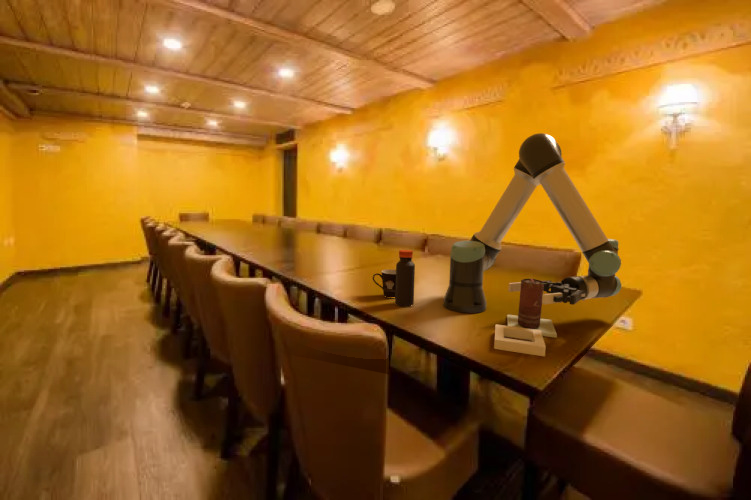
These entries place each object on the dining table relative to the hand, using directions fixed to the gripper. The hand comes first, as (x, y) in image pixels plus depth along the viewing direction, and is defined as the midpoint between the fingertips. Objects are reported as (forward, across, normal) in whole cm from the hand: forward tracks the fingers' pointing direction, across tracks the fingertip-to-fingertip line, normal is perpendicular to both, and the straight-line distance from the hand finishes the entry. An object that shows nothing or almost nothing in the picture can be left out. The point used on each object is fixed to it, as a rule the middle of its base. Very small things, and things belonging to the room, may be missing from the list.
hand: (525, 293), depth 103 cm
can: (-1, -1, -10) cm, 10 cm away
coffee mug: (+26, +45, -11) cm, 53 cm away
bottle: (+25, +32, -11) cm, 42 cm away
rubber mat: (-3, 0, -11) cm, 11 cm away
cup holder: (+10, -9, -11) cm, 17 cm away
